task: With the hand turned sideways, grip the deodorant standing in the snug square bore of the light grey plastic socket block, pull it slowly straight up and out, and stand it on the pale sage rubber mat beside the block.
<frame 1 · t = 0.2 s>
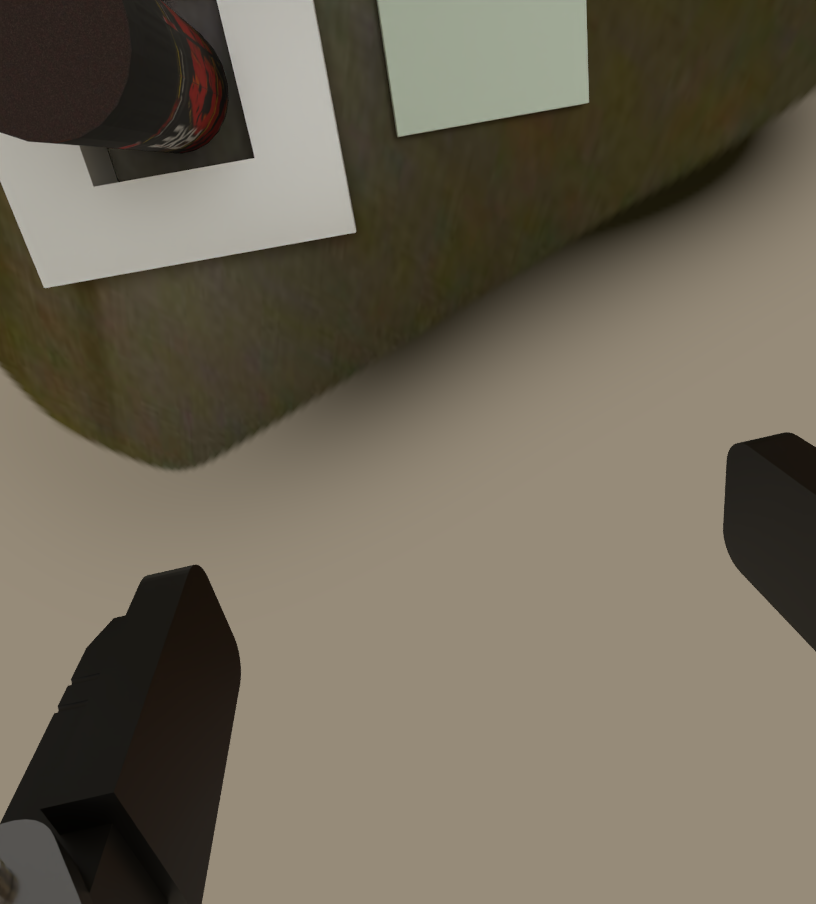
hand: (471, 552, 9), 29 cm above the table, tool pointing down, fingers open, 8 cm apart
socket block: (167, 87, 31), on the table
deodorant: (168, 87, 31), resting in socket block
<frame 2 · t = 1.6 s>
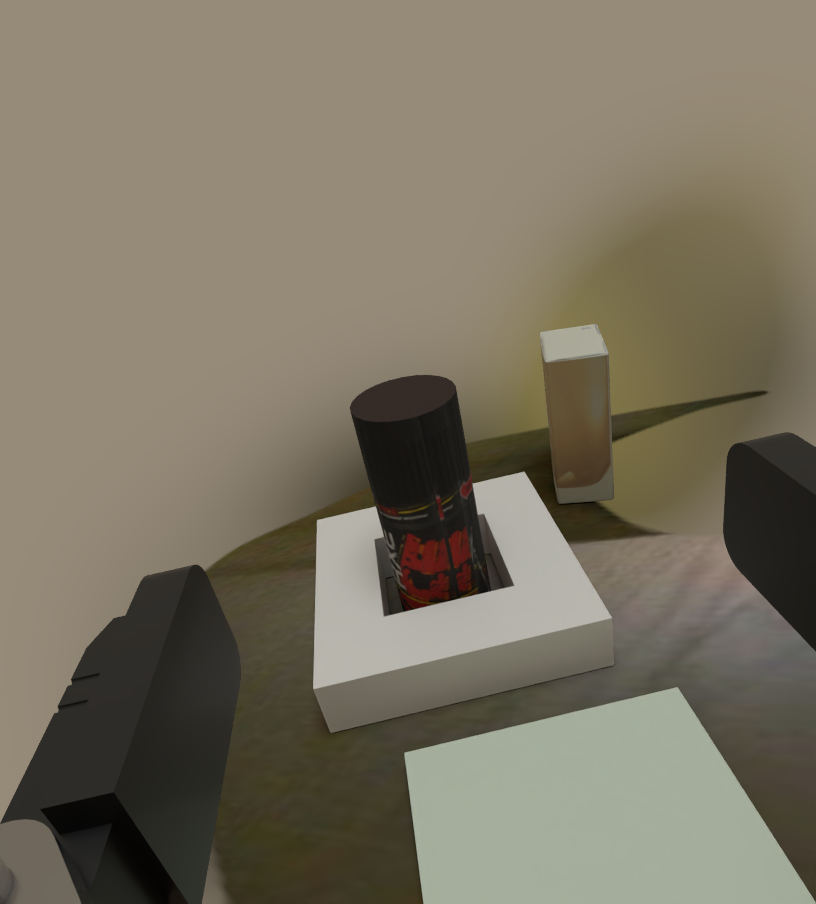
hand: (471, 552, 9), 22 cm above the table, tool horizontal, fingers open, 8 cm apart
socket block: (447, 601, 41), on the table
skincare box: (582, 484, 50), on the table
mat: (579, 831, 27), on the table
deodorant: (447, 604, 41), resting in socket block
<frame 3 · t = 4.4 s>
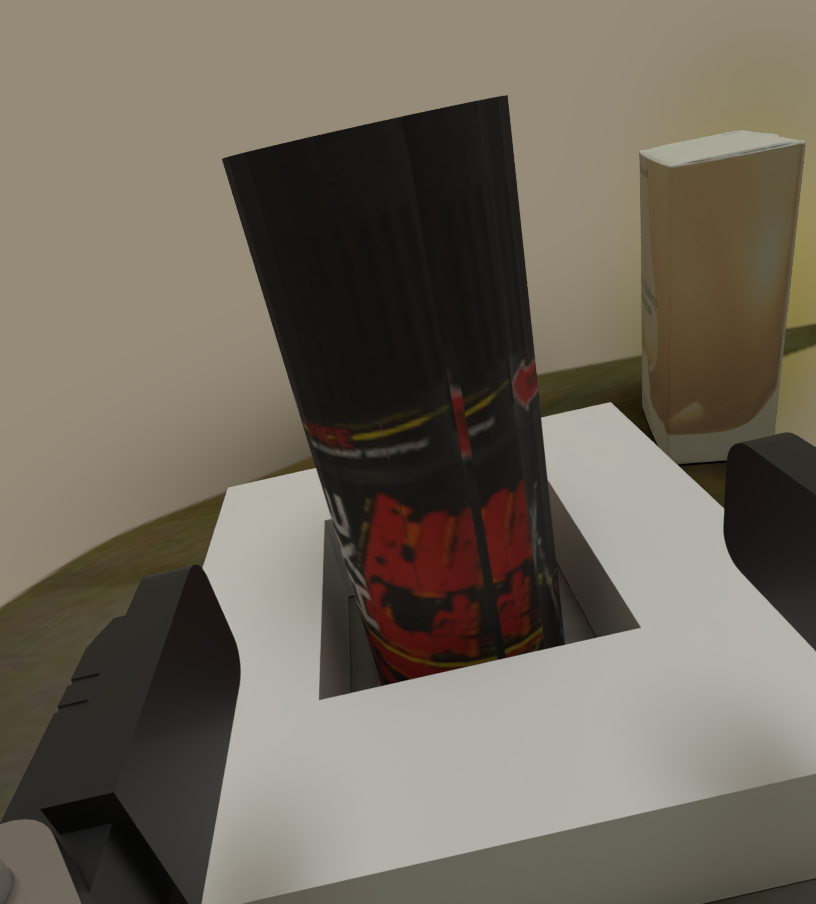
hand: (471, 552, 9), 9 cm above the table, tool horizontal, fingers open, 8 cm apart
socket block: (469, 650, 20), on the table
skincare box: (701, 435, 29), on the table
deodorant: (470, 655, 20), resting in socket block
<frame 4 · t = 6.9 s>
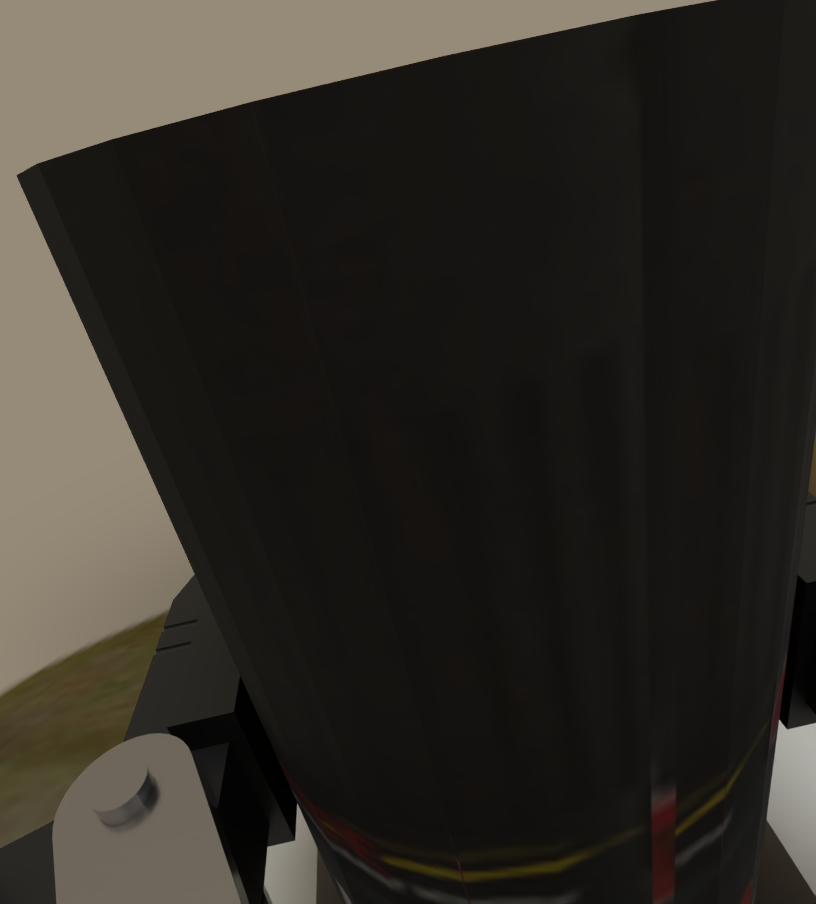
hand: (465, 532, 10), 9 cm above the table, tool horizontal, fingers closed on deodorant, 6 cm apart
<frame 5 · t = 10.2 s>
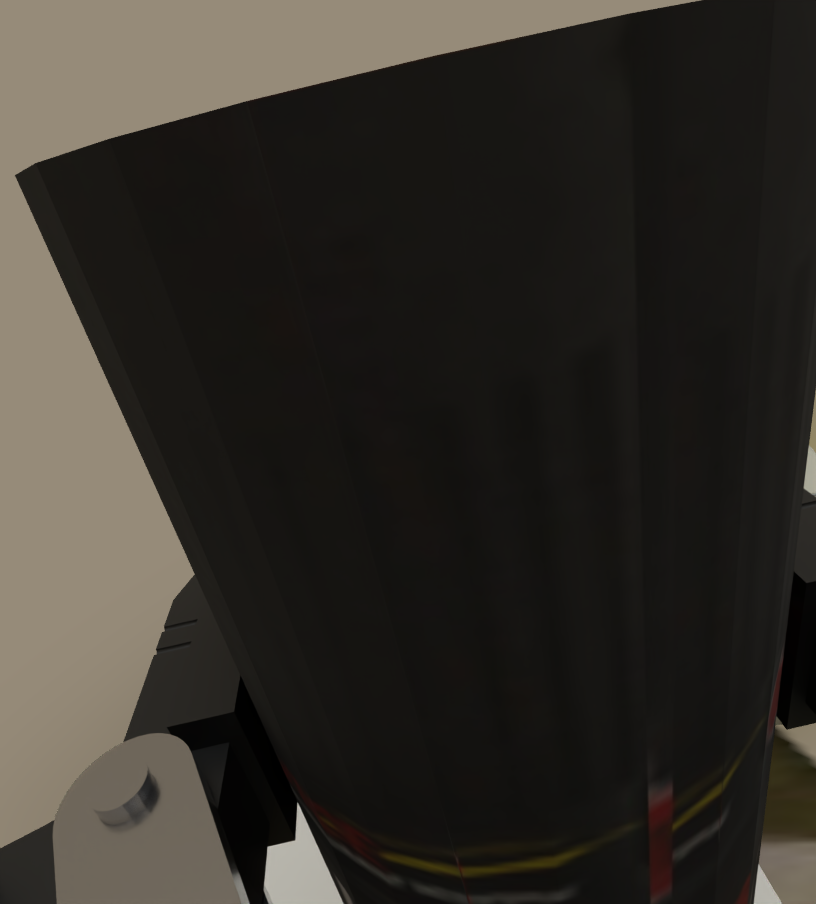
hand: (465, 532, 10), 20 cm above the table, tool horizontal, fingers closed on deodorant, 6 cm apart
skincare box: (730, 675, 29), on the table
when the fingers open (11 cm above the table, at t = 13.6 s): deodorant stays where it is, resting on mat.
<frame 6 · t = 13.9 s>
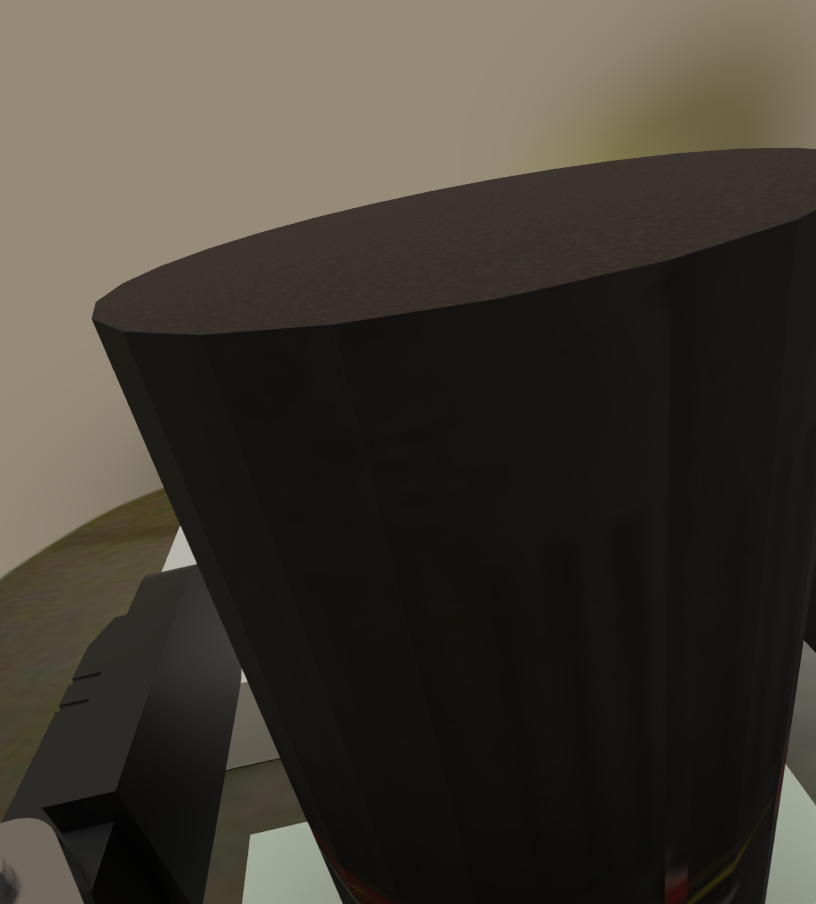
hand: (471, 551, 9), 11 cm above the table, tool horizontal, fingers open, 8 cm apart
socket block: (377, 576, 27), on the table
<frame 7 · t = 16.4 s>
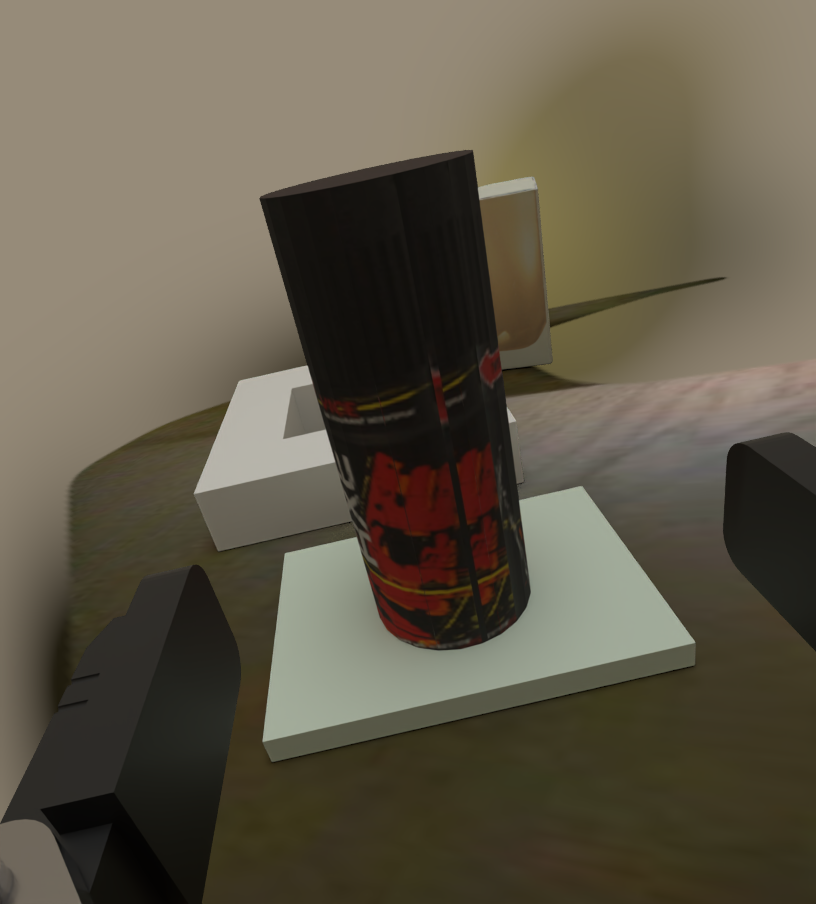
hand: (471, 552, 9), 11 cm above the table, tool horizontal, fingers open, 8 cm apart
socket block: (364, 447, 38), on the table
skincare box: (523, 356, 48), on the table
mat: (456, 609, 24), on the table
deodorant: (453, 595, 24), point 1 cm above the table, touching mat
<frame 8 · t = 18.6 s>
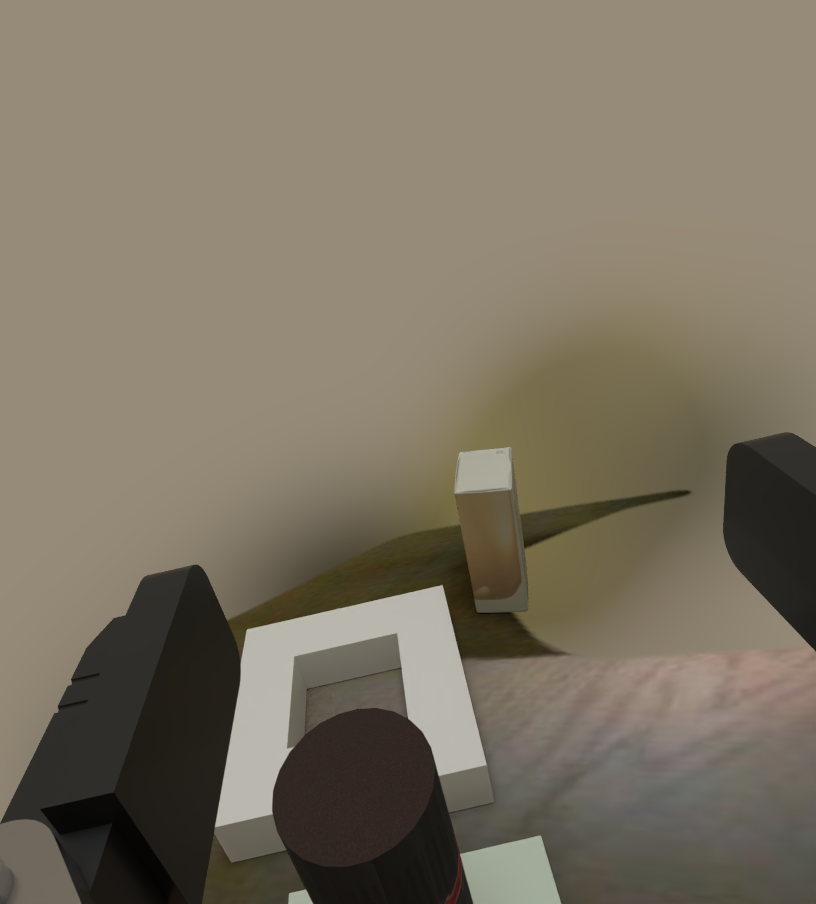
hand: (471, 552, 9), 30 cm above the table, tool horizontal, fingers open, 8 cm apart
socket block: (358, 720, 44), on the table
skincare box: (502, 590, 53), on the table
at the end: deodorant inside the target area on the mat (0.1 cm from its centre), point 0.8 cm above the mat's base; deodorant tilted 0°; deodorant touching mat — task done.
